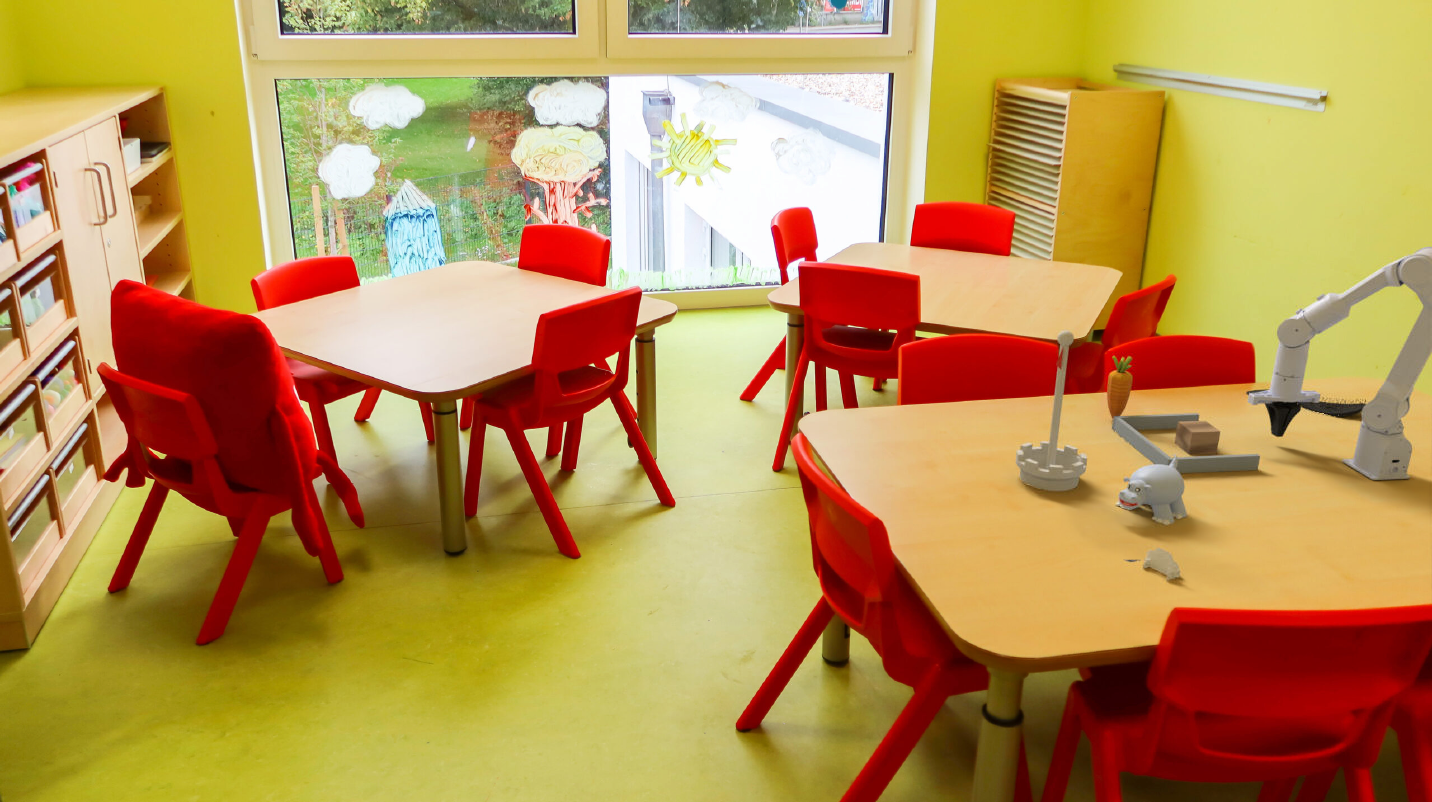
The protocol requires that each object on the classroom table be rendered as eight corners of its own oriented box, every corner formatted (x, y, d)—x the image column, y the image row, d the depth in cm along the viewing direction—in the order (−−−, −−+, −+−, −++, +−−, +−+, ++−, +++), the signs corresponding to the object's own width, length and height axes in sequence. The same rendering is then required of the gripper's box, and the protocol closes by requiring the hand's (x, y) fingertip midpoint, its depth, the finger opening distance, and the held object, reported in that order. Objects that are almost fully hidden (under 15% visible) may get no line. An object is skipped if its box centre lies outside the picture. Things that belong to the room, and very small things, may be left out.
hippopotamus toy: (1096, 512, 200) (1102, 464, 196) (1144, 492, 208) (1151, 445, 205) (1149, 534, 192) (1156, 484, 188) (1197, 512, 200) (1205, 464, 197)
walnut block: (1216, 454, 226) (1220, 431, 224) (1188, 454, 226) (1192, 432, 224) (1201, 442, 232) (1205, 420, 230) (1174, 443, 231) (1177, 421, 229)
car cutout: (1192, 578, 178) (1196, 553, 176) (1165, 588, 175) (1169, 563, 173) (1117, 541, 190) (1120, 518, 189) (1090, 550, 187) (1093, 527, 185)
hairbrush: (1252, 379, 263) (1371, 396, 248) (1250, 393, 264) (1369, 412, 249) (1242, 388, 257) (1364, 406, 242) (1241, 403, 258) (1361, 422, 243)
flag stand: (1025, 461, 222) (1040, 317, 212) (1091, 474, 216) (1110, 327, 205) (1005, 483, 211) (1020, 334, 201) (1074, 499, 205) (1093, 345, 195)
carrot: (1098, 418, 245) (1106, 354, 239) (1115, 415, 247) (1123, 351, 241) (1114, 425, 240) (1123, 360, 235) (1131, 422, 242) (1140, 357, 237)
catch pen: (1257, 469, 218) (1260, 455, 217) (1166, 473, 216) (1168, 459, 215) (1195, 425, 240) (1197, 413, 239) (1111, 429, 238) (1113, 416, 237)
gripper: (1309, 366, 230) (1298, 426, 234) (1244, 368, 228) (1233, 429, 233) (1331, 376, 223) (1318, 439, 228) (1263, 379, 221) (1252, 441, 226)
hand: (1277, 435), depth 230 cm, fingers closed
